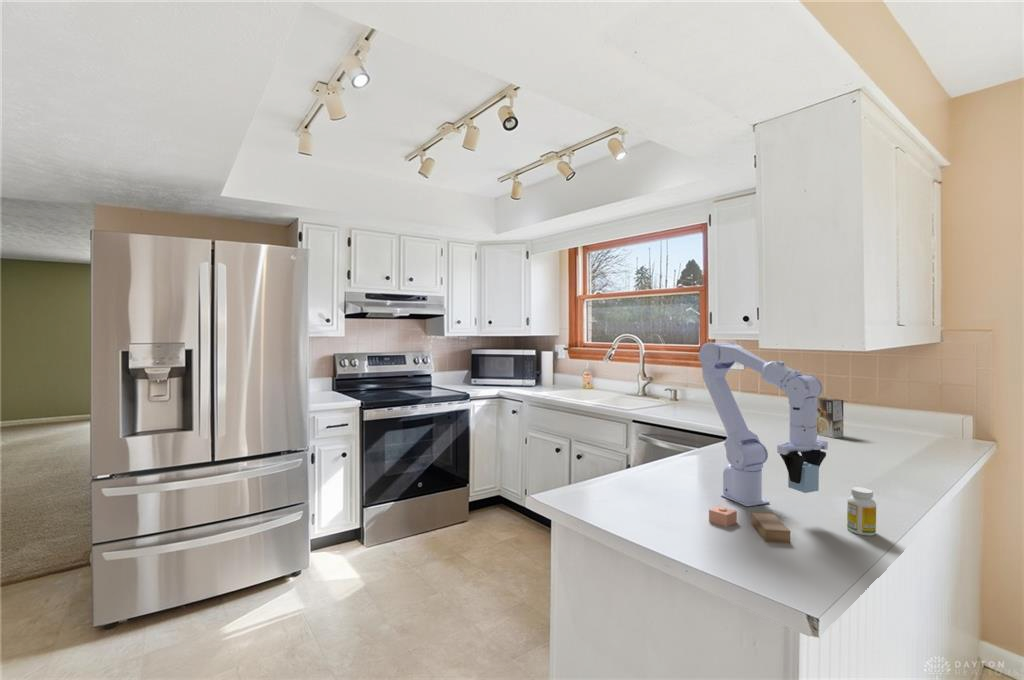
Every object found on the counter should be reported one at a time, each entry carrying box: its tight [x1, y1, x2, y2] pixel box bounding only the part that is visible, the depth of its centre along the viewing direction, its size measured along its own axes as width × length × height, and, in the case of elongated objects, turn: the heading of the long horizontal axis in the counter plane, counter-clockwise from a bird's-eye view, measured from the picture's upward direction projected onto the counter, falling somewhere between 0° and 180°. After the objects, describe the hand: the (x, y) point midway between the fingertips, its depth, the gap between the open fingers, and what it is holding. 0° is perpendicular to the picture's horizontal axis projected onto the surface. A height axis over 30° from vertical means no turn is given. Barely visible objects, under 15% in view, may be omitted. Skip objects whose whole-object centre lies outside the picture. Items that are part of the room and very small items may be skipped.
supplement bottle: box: [846, 486, 877, 536], centre depth 111 cm, size 5×5×10 cm
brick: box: [708, 505, 738, 528], centre depth 118 cm, size 4×4×3 cm
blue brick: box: [787, 462, 820, 494], centre depth 118 cm, size 4×4×6 cm
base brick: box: [750, 512, 792, 544], centre depth 111 cm, size 10×5×3 cm, turn 170°
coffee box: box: [817, 397, 844, 439], centre depth 212 cm, size 9×6×16 cm
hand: (802, 481), depth 119 cm, fingers closed on blue brick, 4 cm apart
